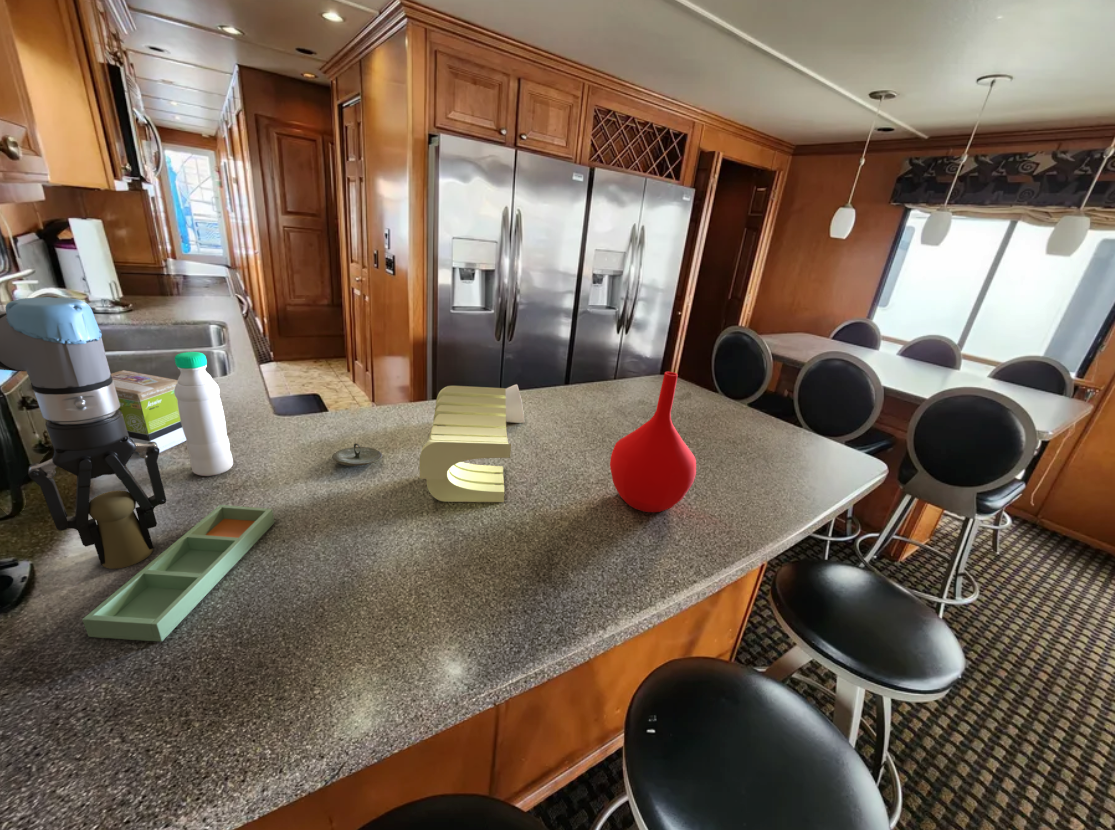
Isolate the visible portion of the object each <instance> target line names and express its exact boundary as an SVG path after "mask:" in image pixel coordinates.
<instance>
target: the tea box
mask: <svg viewBox="0 0 1115 830" xmlns="http://www.w3.org/2000/svg"><path fill="white" fill-rule="evenodd" d="M110 374H111V376H112V380H113V382H114V385H115V389H116V393H117V396H118V400H119V403H120V407H119V408H118V410H119V411H121V412H122V414H123V418H124V421H125V425H126V428H127V432H128V436H129V437H130V438H131V439H132V440H133V441H134V442H135V443H142V444H148V443H149V442H156V443H157V445H158V448H159V450H160V452H159V454H160V453H163V452H165V451H167V450H169V449H172V448H173V447H175V446H177V445H180V444H183V443H184V442H187V440H186V437H185V435H184V431H183V428H182V424H181V420H180V415H179V410H178V402H177V398H176V397H175V394H174V389H175V386H176V384H177V382H178V379H174V378H168V377H163V376H159V375H158V376H157V375H151V374H146V373H140V372H137V371H136V372H135V371H129V370H126V369H123V370H119V371H115V372H112V373H111V372H110Z"/></svg>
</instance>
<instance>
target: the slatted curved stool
mask: <svg viewBox="0 0 1115 830" xmlns="http://www.w3.org/2000/svg"><path fill="white" fill-rule="evenodd" d="M506 388H507V387H506ZM506 388H504V387H486V386H470V385H469V386H467V385H447V386H445V387H443V388H442V389H441V390H440V391H438V394H437V397H436V399H435V400H436V401H435V407H434V414H433V419H432V421H433V422H432V425H431V429H430V432H429V435H428V439H427V441H426V443H425V444H424V445H423V446H422V449H421V451H420V455H419V463H418V464H419V480H426V481H425V482H426V488H427V490H428V492H429V494H430V495H431V496H432V497H433V498H434V499H436V500H438V501H439V502H444V503H445V502H446V503H447V502H449V503H450V502H451V503H453V502H454V503H455V502H456V503H461V502H462V503H505V485H504V484H505V481H504V480H505V479H504V466H503V465H485V464H483V465H482V464H475V463H469V462H466V461H471V460H472V461H473V460H480V459H511V454H512V453H511V452H512V443H509V440H508V434H507V431H508V430H507V422H506V408H505V407H506V398H505V396H506Z"/></svg>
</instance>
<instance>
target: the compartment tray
mask: <svg viewBox="0 0 1115 830" xmlns="http://www.w3.org/2000/svg"><path fill="white" fill-rule="evenodd" d="M274 524H275V518H274V511H273V508H265V507H252V506H244V505H243V506H242V505H241V506H240V505H230V504H218V506H217V507H215V508H214V509H213V510H212V511H211V512H209V513H208V514H207V515H206V516H205V517H204V518H202V519H201V520H200V521H198V522H197V523H196V524H195V525H194V526H193V527H192V528H190V529H189V530H188V531H187V532H185V534H183V535H182V536H180V537H179V538H178V539H177V540H176V541H174V543H172V544H171V545H170V546H168V547H167V548H166V549H165V550H164V551H162V552H161V553H160V554H159V555H158V556H156V557H155V558H154V559H152V561H151V562H149V563H148V564H147V565H146V566H145V567H143V568H142V569H141V570H139V571H138V572H137V573H136V574H135V575H134V576H132V577H131V578H130V579H129V580H128V581H126V582H125V583H124V584H122V585H121V586H120V587H119V588H118V589H116V591H114V592H113V593H112V594H110V595H109V596H108V597H107V598H106V599H105V600H103V601H102V602H101V603H100V604H99V605H97V606H96V607H95V608H94V609H93V610H91V611H90V612H89V613H88V614H87V615H85V616H84V617H83V618H82V619H81V620H82V623H83V626H84V628H85V631H86V634H87V636H88V638H100V639H101V638H102V639H115V640H116V639H117V640H128V641H129V640H131V641H145V642H161V643H162V642H163V641H164V640H165V639H166V638H167V637H168V636H169V635H170V634H171V633H172V632H173V631H174V630H175V628H177V626H178V625H179V624H180V623H181V622H182V621H183V620H184V619H185V618H186V617H188V615H189V614H190V613H192V611H193V609H194V608H196V607H197V606H198V604H199V603H200V602H201V601H202V600H203V599H204V598H205V597H206V596H207V595H208V594H209V593H210V592H211V590H213V589H214V587H215V586H216V585H217V584H219V582H220V581H221V580H222V579H223V578H224V577H225V576H226V575H227V574H228V573H229V572H230V571H231V569H232V568H233V567H235V565H236V564H237V563H238V562H239V561H240V560H241V559H242V558H243V557H244V556H245V555H246V554H247V553H248V552H249V550H250V549H251V548H252V547H253V546H254V545H255V544H256V543H257V542H258V541H259V540H260V539H261V538H262V537H263V536H264V535H265V534H266V533H267V531H269V529H270V528H271V527H272V526H273V525H274Z"/></svg>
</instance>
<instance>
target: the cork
mask: <svg viewBox="0 0 1115 830" xmlns="http://www.w3.org/2000/svg"><path fill="white" fill-rule="evenodd" d="M136 507H137V502H136V501H135V499H134V498H133V497H132V495H131V494H130V493H129V491H128V490H121V489H120V490H119V489H118V490H111V491H106V492H103V493H100V494H98V495H96V496H94V497H93V498H91V499H90V500H89V516H90V517H91V519H94V520H95V521H96V524H97V529H98V532H99V536H100V539H101V542H102V545H103V549H104V555H105V564H102V567H103V568H106V569H111V570H116V569H123V568H128V567H131V566H134V565H136V564H138V563H141V562H143V561H144V560H146V559H147V558H148V557H149V556H151V555H152V553H153V551H154V548H153V549H150V550H149V548H148V546H147V544H146V542H145V540H144V536H143V533H142V529H141V526H140V523H139V519H138V516H137V513H136V511H135V510H136V509H135V508H136Z"/></svg>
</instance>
